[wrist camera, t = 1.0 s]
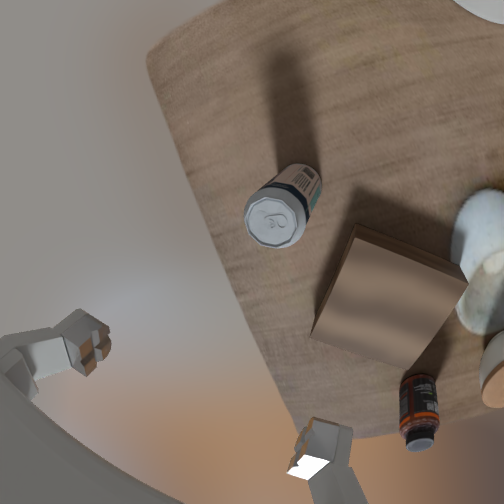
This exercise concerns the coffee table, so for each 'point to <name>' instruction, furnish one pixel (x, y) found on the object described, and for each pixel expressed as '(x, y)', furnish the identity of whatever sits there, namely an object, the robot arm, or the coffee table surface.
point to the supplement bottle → (418, 412)
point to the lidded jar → (493, 372)
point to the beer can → (283, 206)
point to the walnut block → (387, 299)
